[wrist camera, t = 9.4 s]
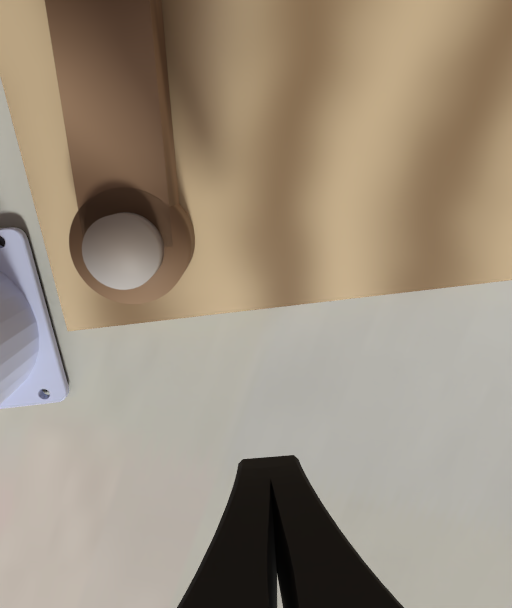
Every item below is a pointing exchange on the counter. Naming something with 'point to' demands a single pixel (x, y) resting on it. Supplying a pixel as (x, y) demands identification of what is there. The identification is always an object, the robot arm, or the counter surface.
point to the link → (120, 147)
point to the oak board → (301, 150)
